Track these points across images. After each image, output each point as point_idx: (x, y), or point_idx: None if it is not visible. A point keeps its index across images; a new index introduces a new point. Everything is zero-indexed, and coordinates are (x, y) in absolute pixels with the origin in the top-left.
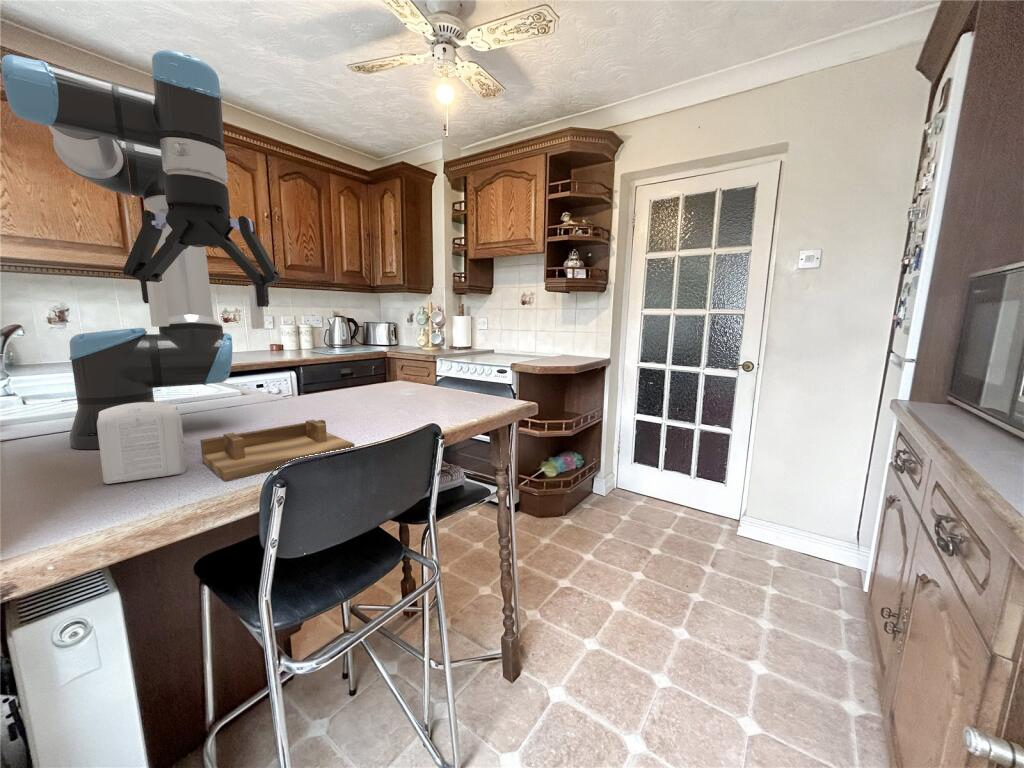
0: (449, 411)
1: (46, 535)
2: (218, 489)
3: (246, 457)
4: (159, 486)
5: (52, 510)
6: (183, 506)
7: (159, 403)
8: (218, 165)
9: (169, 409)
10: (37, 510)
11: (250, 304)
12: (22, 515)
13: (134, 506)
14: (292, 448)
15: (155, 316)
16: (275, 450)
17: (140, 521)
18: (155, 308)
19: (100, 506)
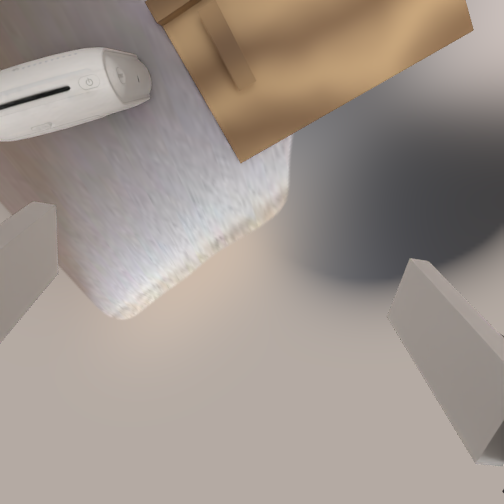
0: None
1: (105, 281)
2: (240, 193)
3: (256, 76)
4: (145, 152)
5: None
6: (216, 242)
7: (69, 83)
8: None
9: (105, 103)
10: None
11: (428, 382)
12: None
13: (153, 225)
14: (339, 29)
15: (37, 294)
16: (305, 36)
17: (185, 273)
18: (22, 312)
19: (107, 213)
